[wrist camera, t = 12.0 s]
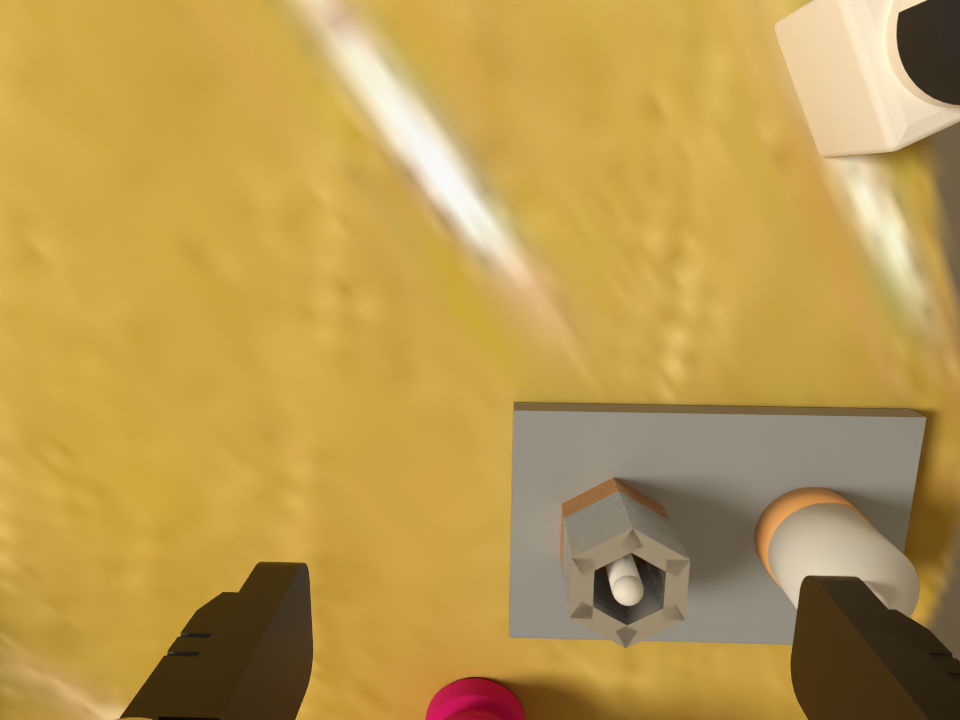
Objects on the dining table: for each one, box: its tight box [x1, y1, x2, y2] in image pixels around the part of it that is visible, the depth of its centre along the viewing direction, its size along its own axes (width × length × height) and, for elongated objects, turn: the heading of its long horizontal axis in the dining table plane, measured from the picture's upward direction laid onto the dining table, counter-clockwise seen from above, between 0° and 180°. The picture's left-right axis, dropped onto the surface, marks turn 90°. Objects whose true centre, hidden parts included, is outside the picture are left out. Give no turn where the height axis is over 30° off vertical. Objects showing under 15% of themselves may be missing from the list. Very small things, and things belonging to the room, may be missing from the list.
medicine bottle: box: [774, 0, 960, 158], centre depth 30 cm, size 7×7×12 cm
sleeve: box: [560, 478, 690, 648], centre depth 37 cm, size 6×6×6 cm
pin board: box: [509, 402, 926, 645], centre depth 37 cm, size 14×22×9 cm, turn 90°
